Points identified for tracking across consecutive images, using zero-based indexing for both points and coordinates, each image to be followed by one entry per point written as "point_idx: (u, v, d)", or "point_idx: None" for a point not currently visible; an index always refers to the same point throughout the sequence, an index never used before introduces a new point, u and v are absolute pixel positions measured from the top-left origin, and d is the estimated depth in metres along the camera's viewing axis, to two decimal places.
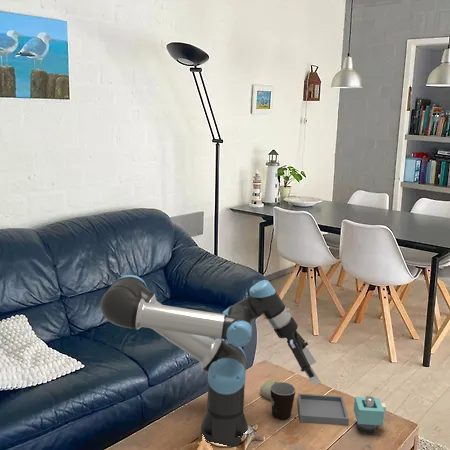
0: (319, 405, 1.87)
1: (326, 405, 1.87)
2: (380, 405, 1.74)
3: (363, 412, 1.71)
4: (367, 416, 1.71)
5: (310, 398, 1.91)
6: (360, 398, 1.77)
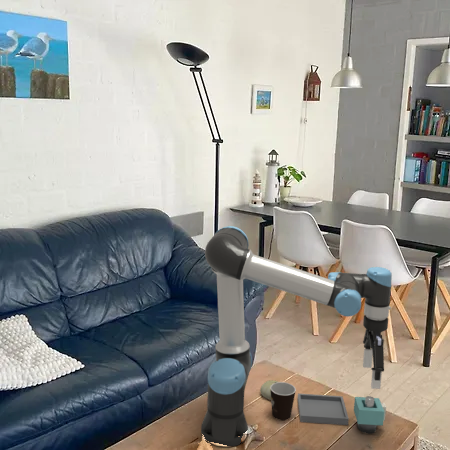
0: (319, 405, 1.87)
1: (326, 405, 1.87)
2: (380, 405, 1.74)
3: (363, 412, 1.71)
4: (367, 416, 1.71)
5: (310, 398, 1.91)
6: (360, 398, 1.77)
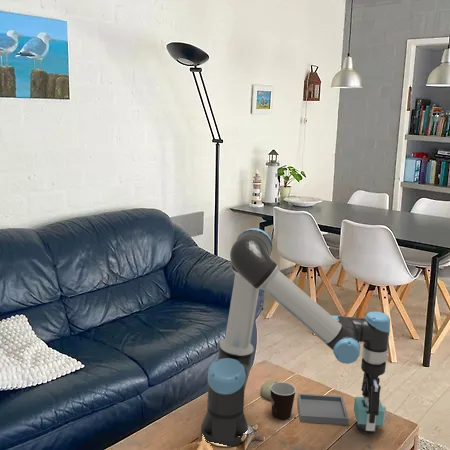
0: (319, 405, 1.87)
1: (326, 405, 1.87)
2: (380, 405, 1.74)
3: (363, 412, 1.71)
4: None
5: (310, 398, 1.91)
6: (360, 398, 1.77)
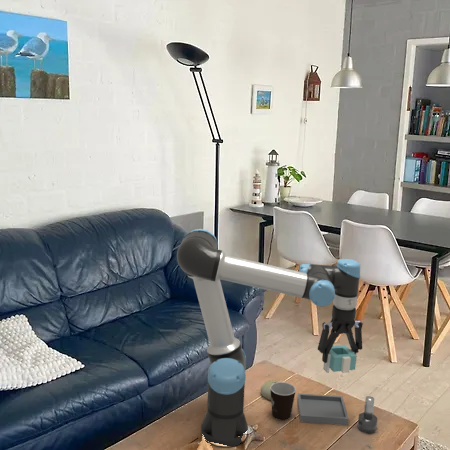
0: (319, 405, 1.87)
1: (326, 405, 1.87)
2: (343, 356, 1.73)
3: None
4: None
5: (310, 398, 1.91)
6: (344, 347, 1.80)
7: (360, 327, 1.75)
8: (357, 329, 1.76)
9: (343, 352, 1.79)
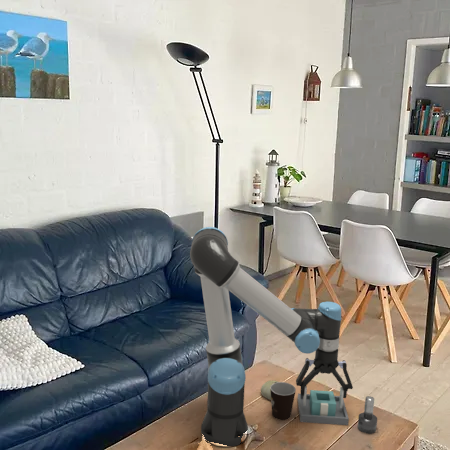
0: None
1: None
2: (322, 402, 1.80)
3: (310, 394, 1.86)
4: (310, 399, 1.85)
5: None
6: (331, 393, 1.86)
7: (344, 368, 1.79)
8: (343, 370, 1.80)
9: (328, 398, 1.85)
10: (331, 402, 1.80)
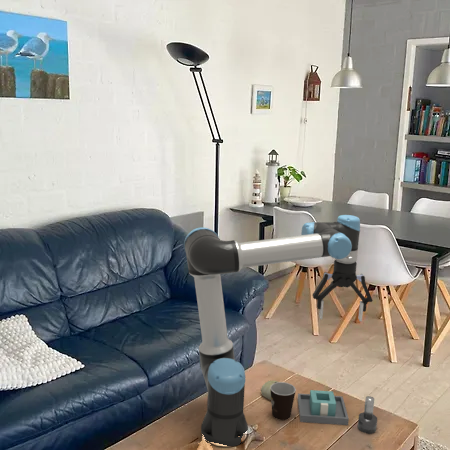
0: None
1: None
2: (322, 402, 1.80)
3: (310, 394, 1.86)
4: (310, 399, 1.85)
5: None
6: (331, 393, 1.86)
7: (363, 280, 1.80)
8: (361, 283, 1.81)
9: (328, 398, 1.85)
10: (331, 402, 1.80)
